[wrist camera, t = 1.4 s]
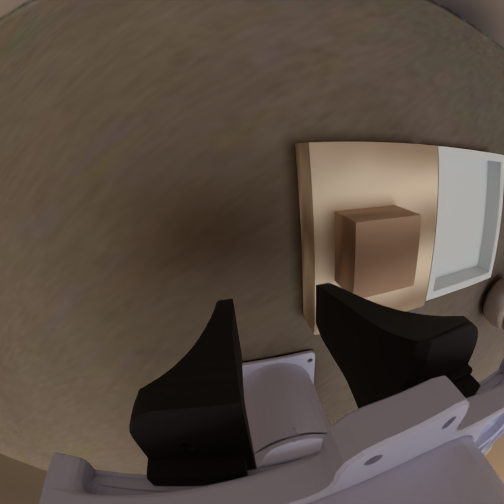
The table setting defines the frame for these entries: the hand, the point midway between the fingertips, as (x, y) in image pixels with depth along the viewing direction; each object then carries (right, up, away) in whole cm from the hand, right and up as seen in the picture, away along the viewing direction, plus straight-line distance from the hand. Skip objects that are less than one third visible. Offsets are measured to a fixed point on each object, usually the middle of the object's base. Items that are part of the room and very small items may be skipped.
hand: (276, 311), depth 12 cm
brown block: (+7, +3, +7) cm, 10 cm away
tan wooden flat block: (+8, +4, +10) cm, 13 cm away
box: (+20, +6, +11) cm, 23 cm away
